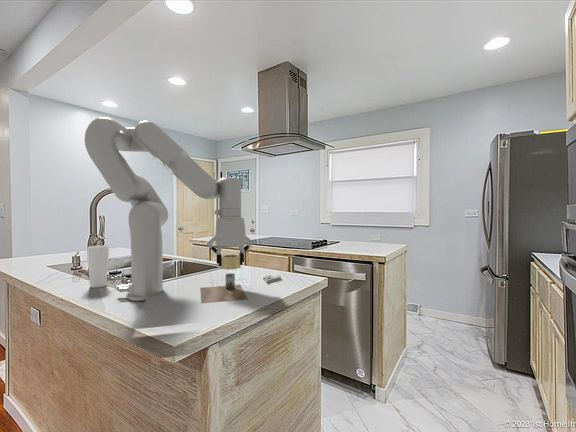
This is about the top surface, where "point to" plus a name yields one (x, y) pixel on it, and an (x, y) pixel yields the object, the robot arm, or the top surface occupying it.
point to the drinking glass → (98, 265)
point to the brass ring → (230, 262)
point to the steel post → (230, 281)
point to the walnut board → (221, 294)
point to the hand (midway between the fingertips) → (230, 264)
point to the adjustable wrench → (271, 278)
